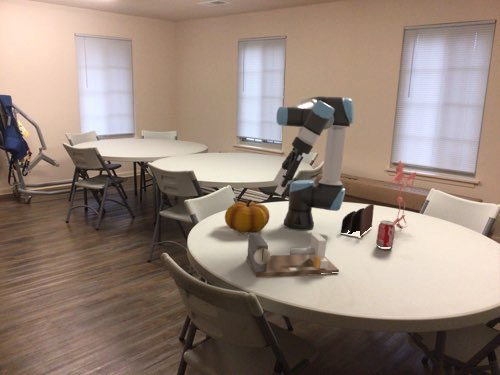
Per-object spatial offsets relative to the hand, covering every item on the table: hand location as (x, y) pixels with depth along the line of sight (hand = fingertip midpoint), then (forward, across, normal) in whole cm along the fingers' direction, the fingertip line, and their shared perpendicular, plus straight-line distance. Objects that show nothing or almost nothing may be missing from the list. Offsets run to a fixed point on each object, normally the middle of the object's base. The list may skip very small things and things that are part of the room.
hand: (276, 188), depth 166 cm
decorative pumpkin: (+33, -32, +4) cm, 47 cm away
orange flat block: (+16, +13, +26) cm, 33 cm away
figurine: (+1, -53, +74) cm, 92 cm away
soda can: (+5, -18, +60) cm, 62 cm away
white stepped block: (+18, +10, +23) cm, 31 cm away
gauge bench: (+22, +10, +19) cm, 31 cm away
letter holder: (+10, -40, +54) cm, 68 cm away
